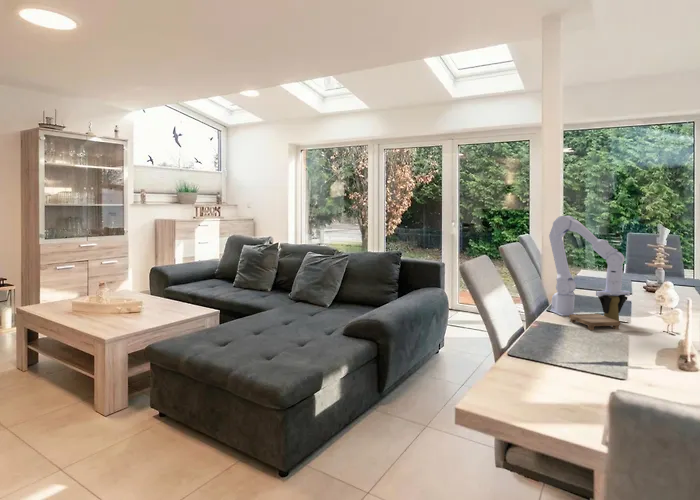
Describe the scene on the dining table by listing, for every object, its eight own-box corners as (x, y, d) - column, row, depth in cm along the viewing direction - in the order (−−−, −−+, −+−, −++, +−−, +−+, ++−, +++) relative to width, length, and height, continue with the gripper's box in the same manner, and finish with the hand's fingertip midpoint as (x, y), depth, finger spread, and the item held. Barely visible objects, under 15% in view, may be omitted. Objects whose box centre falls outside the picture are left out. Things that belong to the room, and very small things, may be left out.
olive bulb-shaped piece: (621, 323, 186) (623, 297, 185) (605, 322, 188) (607, 296, 186) (616, 319, 192) (617, 294, 191) (600, 318, 193) (602, 293, 192)
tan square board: (569, 321, 188) (569, 314, 188) (596, 320, 191) (597, 313, 190) (590, 330, 176) (590, 322, 175) (619, 329, 178) (620, 321, 177)
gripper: (605, 282, 183) (602, 315, 184) (636, 282, 185) (634, 314, 187) (593, 279, 190) (591, 311, 191) (623, 279, 192) (621, 310, 194)
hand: (611, 312), depth 190 cm, fingers closed on olive bulb-shaped piece, 5 cm apart
